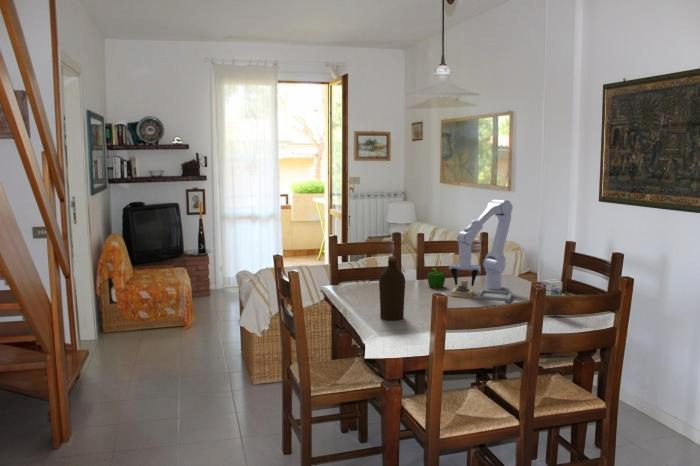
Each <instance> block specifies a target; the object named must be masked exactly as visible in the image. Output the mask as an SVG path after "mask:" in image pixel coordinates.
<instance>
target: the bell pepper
mask: <svg viewBox="0 0 700 466" xmlns="http://www.w3.org/2000/svg"><path fill="white" fill-rule="evenodd" d="M431 270H432V271H431V272H428V273H427V283H428V286H429V288H432V289H442V288H443V287H444V285H445V282H446V273H444V272H441V271H438V270H437V269H436V268H435V267H433V268H431Z"/></svg>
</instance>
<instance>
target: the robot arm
mask: <svg viewBox="0 0 700 466" xmlns="http://www.w3.org/2000/svg"><path fill="white" fill-rule="evenodd" d="M512 212H513V204H512V202H511V201H510V200H508V199H496V198H493V199H491V200H490V201H489V202H488V203H487V207H486V208H485V209H484V211H482V213H481V214H480V215H479V216H478V218H477V219H473V220H471V221H470V223H469V224H468V225H467V226H466V227H465V228H464V229H463V230H461V231H459V232H458V234H457V236H456V237H455V238H456V240H457V243H458V264H449V266H448V270H450V272H451V275H452V277H453V280H454V285H455V286H457V285H458V272H459V271H471V285H470V286H471V287H474V285H475V280H476V277H477V276H478V274H479V272H481V266H477V265H472V244H473V243H474V242H475V239H476V236H477V235H478V234H479V233H480V231H482V229H483V227H484V224H485V223H487V221H488V220H489V219H490V218H491V217H492V216H493V215H495V216H496V218H497V219H498V223H497V226H496V230H495V235H494V237H493V243H492V247H491V250H490V251H489V252H488V253H487V254H486V256H485V258H484V260H483V262H482V264H483V268H484V269H485V273H486V274H485V276H486V277H485V289H486V290H494V291H499V290H501V289H502V288H504V287H503V286H502V274H503V273H504V271H505V268H506V257H505V255H504V249H505V246H506V245H505V244H506V241H507V237H508V233H509V229H510V225H511V221H512ZM458 270H459V271H458Z"/></svg>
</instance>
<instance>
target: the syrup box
mask: <svg viewBox="0 0 700 466" xmlns="http://www.w3.org/2000/svg"><path fill="white" fill-rule="evenodd" d="M543 283H544V284H545V285H546V295H562V296H563V281H562V280H560V279H555V278H554V279H542V284H543Z"/></svg>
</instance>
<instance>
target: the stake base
mask: <svg viewBox="0 0 700 466" xmlns="http://www.w3.org/2000/svg"><path fill="white" fill-rule="evenodd" d="M457 288H460V292H465V289H466V288H467V289H468V286H461V285H458V287H457ZM478 293H479V292H478V291H474V293H473V295H472V296H471V298H472V299H474V298H475V297H477V295H478ZM447 297H452V296H451V292H450V293H449V294H448V295H447ZM454 297H456V296H454ZM468 298H469V299H471V298H470V297H467V299H468Z"/></svg>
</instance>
